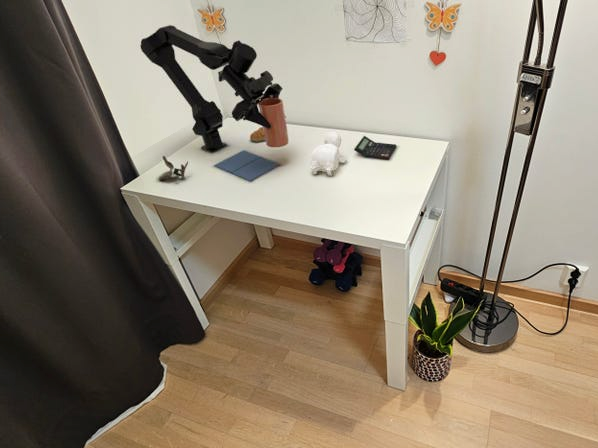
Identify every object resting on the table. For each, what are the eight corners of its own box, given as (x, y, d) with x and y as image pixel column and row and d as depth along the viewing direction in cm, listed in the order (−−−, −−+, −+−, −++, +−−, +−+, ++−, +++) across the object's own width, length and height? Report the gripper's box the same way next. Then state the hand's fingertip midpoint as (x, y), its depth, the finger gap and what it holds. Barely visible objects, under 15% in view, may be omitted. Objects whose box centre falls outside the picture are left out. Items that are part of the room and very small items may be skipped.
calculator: (388, 160, 126) (388, 151, 125) (354, 156, 130) (353, 147, 128) (396, 146, 133) (396, 138, 132) (363, 143, 137) (363, 135, 135)
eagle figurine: (193, 167, 127) (167, 160, 128) (183, 156, 120) (156, 150, 121) (184, 188, 125) (158, 182, 126) (174, 179, 118) (146, 172, 119)
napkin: (214, 166, 129) (214, 164, 129) (243, 151, 137) (243, 150, 136) (250, 181, 120) (250, 180, 120) (279, 164, 128) (279, 163, 127)
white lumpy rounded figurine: (338, 182, 123) (351, 146, 130) (331, 165, 116) (345, 127, 123) (312, 180, 125) (326, 144, 132) (304, 162, 118) (320, 125, 125)
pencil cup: (263, 147, 123) (255, 106, 115) (269, 138, 128) (261, 98, 120) (286, 147, 122) (279, 106, 115) (290, 137, 128) (284, 97, 120)
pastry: (255, 144, 140) (253, 134, 138) (247, 139, 145) (244, 129, 142) (279, 136, 145) (277, 126, 142) (270, 131, 149) (268, 121, 147)
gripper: (228, 74, 106) (270, 119, 109) (271, 55, 119) (307, 96, 122) (215, 100, 114) (254, 141, 116) (256, 79, 127) (290, 117, 129)
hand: (277, 123), depth 121 cm, fingers closed on pencil cup, 7 cm apart
